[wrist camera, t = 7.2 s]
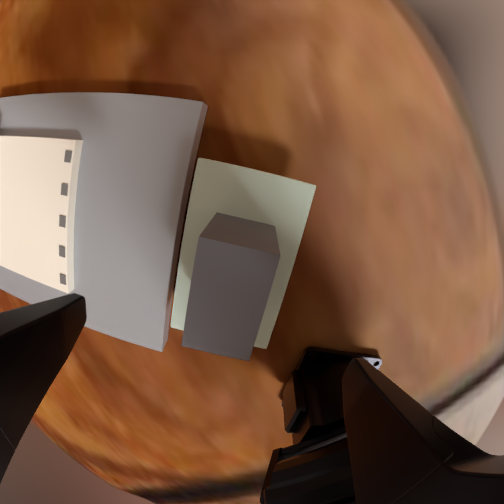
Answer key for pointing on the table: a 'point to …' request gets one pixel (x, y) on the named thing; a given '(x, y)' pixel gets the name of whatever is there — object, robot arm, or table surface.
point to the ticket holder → (97, 203)
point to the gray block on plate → (237, 256)
